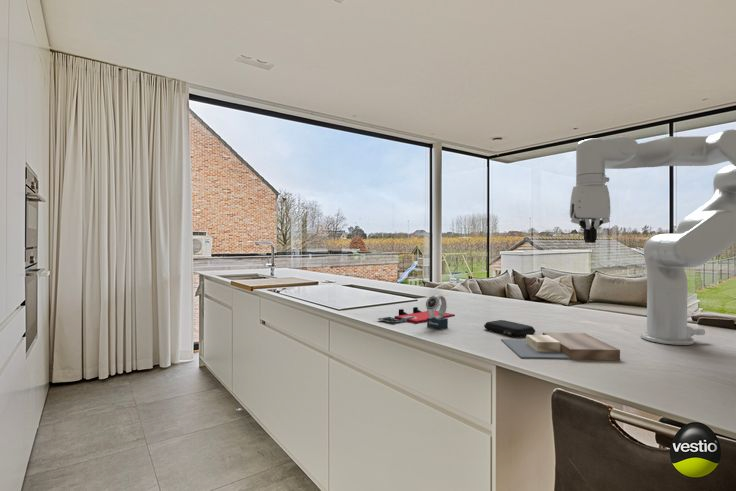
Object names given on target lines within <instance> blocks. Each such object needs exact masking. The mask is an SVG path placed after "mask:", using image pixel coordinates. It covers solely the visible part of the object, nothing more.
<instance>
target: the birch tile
mask: <svg viewBox="0 0 736 491" xmlns="http://www.w3.org/2000/svg"><path fill="white" fill-rule="evenodd" d="M525 337H526V338H525V339H526V344H527V345H529V346H530V347H532V348H533V349H534V350H536V351H537V352H560V342H559V341H557V340H556V339H554V338H552V337H550V336H549V335H543V334H533V335H526V336H525Z"/></svg>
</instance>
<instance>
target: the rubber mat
mask: <svg viewBox="0 0 736 491" xmlns="http://www.w3.org/2000/svg"><path fill="white" fill-rule="evenodd" d="M500 340H501V342H502V343H504V344H505V346H506V347H508V348H509V349H510V350H511V351H513V353H514V354H516V355H517V357H519V358H520V359H538V360H539V359H540V360H541V359H542V360H543V359H544V360H545V359H546V360H571V359H570V357H569V356H567V355H565V354H564V353H562V352H561V351H560V352H537V351H536V350H534V349H533V348H532V347H530V346H529V345H527V344H526V338H524V339H522V338H521V339H519V338H517V339H516V338H500Z"/></svg>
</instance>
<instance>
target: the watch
mask: <svg viewBox="0 0 736 491" xmlns="http://www.w3.org/2000/svg"><path fill="white" fill-rule="evenodd" d="M440 302H441V304H440ZM425 307H426V311H428V313H429V316H430V317H429V318H427V322H426V327H427V328H430V329H435V330H443V329H449V328H448V327H449V325H448V322H449V319H448V317H447V318H442V317H443V316H444V314H445V313H447V312H446V311H447V307H448V306H447V299H446V297H445V296H443V295H441V294H440V295H438V294H433V295H432V296H429V298H427V300H426V302H425ZM438 308H439V310H438V311H439V312H438V316H435V315H434V313H435V311H437V309H438Z"/></svg>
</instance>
